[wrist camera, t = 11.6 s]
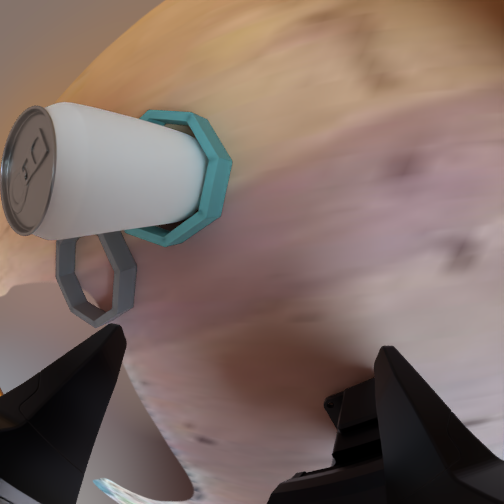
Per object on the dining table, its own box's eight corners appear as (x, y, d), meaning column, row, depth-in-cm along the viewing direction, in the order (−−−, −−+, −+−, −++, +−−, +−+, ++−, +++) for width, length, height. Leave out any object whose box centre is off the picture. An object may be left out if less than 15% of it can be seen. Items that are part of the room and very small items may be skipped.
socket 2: (252, 195, 19) (240, 194, 17) (157, 259, 23) (141, 264, 21) (191, 93, 20) (175, 85, 18) (113, 165, 23) (95, 164, 21)
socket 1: (151, 294, 23) (135, 302, 21) (97, 329, 27) (83, 336, 25) (106, 200, 24) (89, 201, 22) (61, 250, 27) (46, 253, 25)
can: (127, 173, 22) (-11, 171, 11) (182, 114, 20) (39, 68, 9) (167, 240, 22) (21, 274, 11) (232, 183, 20) (80, 170, 8)
